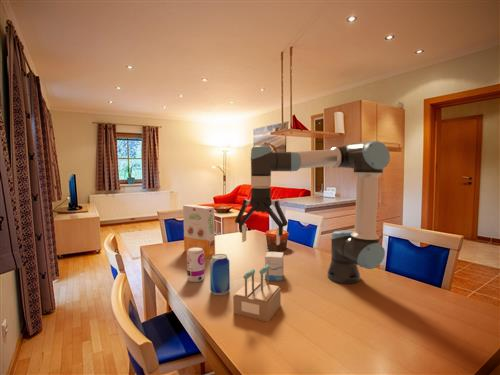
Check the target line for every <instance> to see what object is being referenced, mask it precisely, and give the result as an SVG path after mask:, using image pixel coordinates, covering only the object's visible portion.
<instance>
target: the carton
mask: <svg viewBox="0 0 500 375" xmlns="http://www.w3.org/2000/svg"><path fill="white" fill-rule="evenodd" d="M266 285H267V284H263V288H264V287H265V286H266ZM260 291H261V284H260V285H259V286H258V287H257V288H256V289H255V290H254V291H253V292H252V293H251V294H250V295H249V296H248V297H247V298H246V297H242V296H237V295H235V293H234V294H233V295H232V296H233V298H232V301H233V302H232V303H233V304H232V305H233V306H232V307H233V309H232V310H233V311H232V312H233V314H235V315H239V316H242V317H246V318H247V317H248V318H251V319H255V320H260V321H263V322H266V323H267V322H268V323H269V322H270V321H271V319H272V318H273V316H274V315H275V314H276V312H277V311H278V310H279V308H280V306H281V305H282V303H281V297H282V296H281V295H282V294H281V288H280V287H279V288H278V289H277V290H276V291H275V293H274V294H273V295H272V296H271V297H270V299H269V300H268V301H267V302H265V301H260V300H256V299H254V297H255V296H256V295H257V294H258V293H259V292H260Z"/></svg>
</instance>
